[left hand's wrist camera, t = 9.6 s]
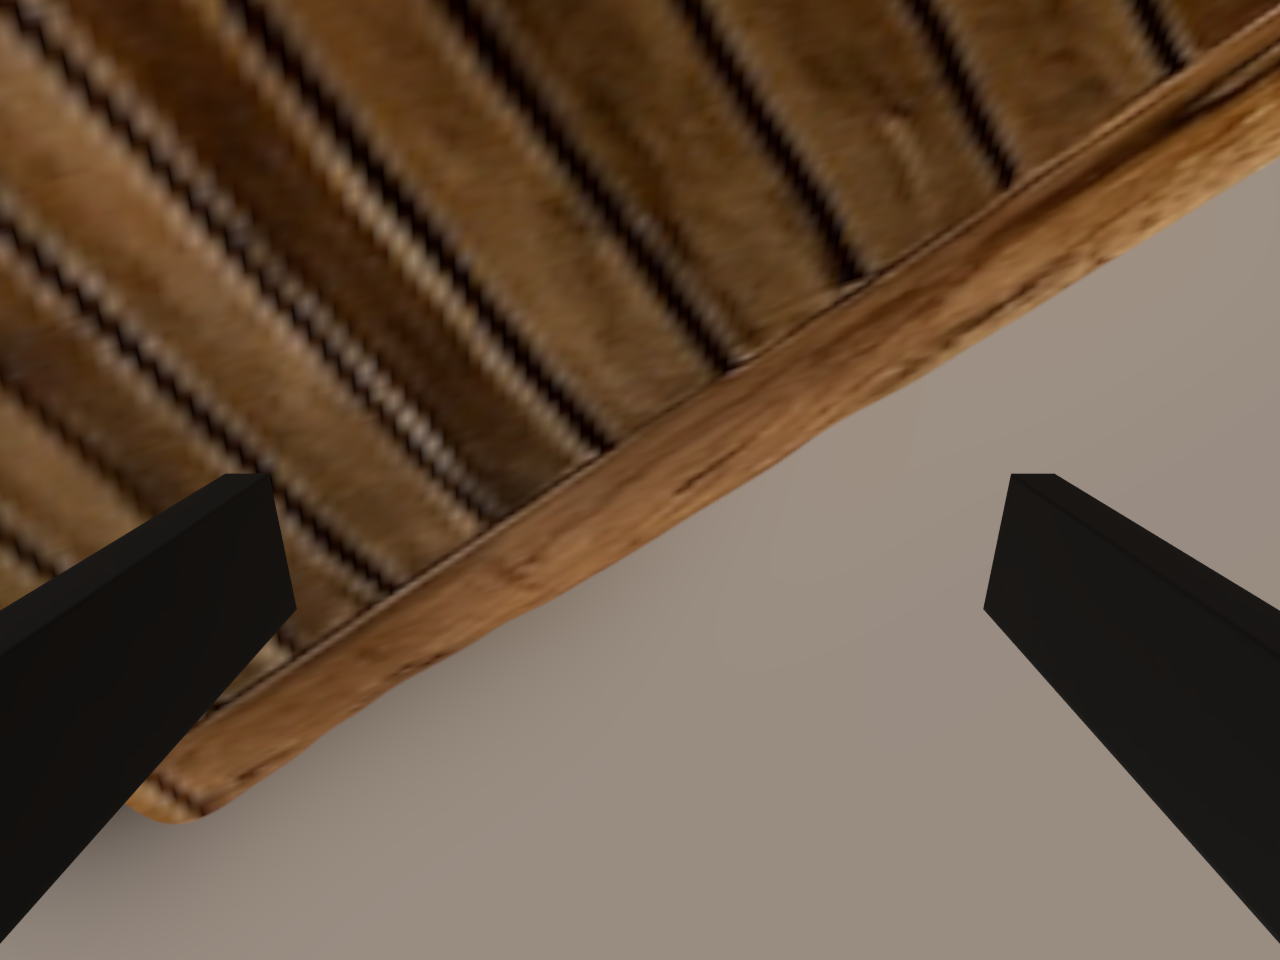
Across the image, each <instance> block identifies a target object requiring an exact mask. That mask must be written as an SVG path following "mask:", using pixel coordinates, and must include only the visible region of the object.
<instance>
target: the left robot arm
mask: <svg viewBox="0 0 1280 960" xmlns="http://www.w3.org/2000/svg"><path fill="white" fill-rule="evenodd" d="M296 609H297V608H296V603H295V598H294V594H293V589H292V584H291V579H290V574H289V569H288V564H287V560H286V555H285V550H284V545H283V540H282V535H281V530H280V526H279V521H278V516H277V511H276V506H275V501H274V496H273V492H272V487H271V482H270V477H269V474H224V475H223V476H221V477H219V478H218V479H216V480H214V481H213V482H211V483H209V484H208V485H206V486H204V487H203V488H201V489H200V490H198V491H196V492H195V493H193V494H191V495H190V496H188V497H186V498H185V499H183V500H181V501H180V502H178V503H177V504H175V505H173V506H172V507H170V508H168V509H167V510H165V511H163V512H162V513H160V514H158V515H157V516H155V517H153V518H152V519H150V520H149V521H147V522H145V523H144V524H142V525H140V526H139V527H137V528H135V529H134V530H132V531H130V532H129V533H127V534H126V535H124V536H122V537H121V538H119V539H117V540H116V541H114V542H112V543H111V544H109V545H107V546H106V547H104V548H103V549H101V550H99V551H98V552H96V553H94V554H93V555H91V556H89V557H88V558H86V559H84V560H83V561H81V562H79V563H78V564H76V565H75V566H73V567H71V568H70V569H68V570H66V571H65V572H63V573H61V574H60V575H58V576H56V577H55V578H53V579H52V580H50V581H48V582H47V583H45V584H43V585H42V586H40V587H38V588H37V589H35V590H33V591H32V592H30V593H28V594H27V595H25V596H24V597H22V598H20V599H19V600H17V601H15V602H14V603H12V604H10V605H9V606H7V607H5V608H4V609H2V610H1V611H0V943H1V942H2V941H3V940H4V939H5V938H6V936H7V935H8V934H9V933H10V932H11V931H12V930H13V929H14V927H15V926H16V925H17V924H18V923H19V922H20V921H21V920H22V918H23V917H24V916H25V915H26V914H27V913H28V912H29V910H30V909H31V908H32V907H33V906H34V905H35V904H36V903H37V901H38V900H39V899H40V898H41V897H42V896H43V895H44V894H45V892H46V891H47V890H48V889H49V888H50V887H51V886H52V885H53V883H54V882H55V881H56V880H57V879H58V878H59V877H60V875H61V874H62V873H63V872H64V871H65V870H66V869H67V868H68V866H69V865H70V864H71V863H72V862H73V861H74V860H75V859H76V857H77V856H78V855H79V854H80V853H81V852H82V851H83V849H84V848H85V847H86V846H87V845H88V844H89V843H90V842H91V841H92V839H93V838H94V837H95V836H96V835H97V834H98V833H99V832H100V830H101V829H102V828H103V827H104V826H105V825H106V824H107V822H108V821H109V820H110V819H111V818H112V817H113V816H114V815H115V813H116V812H117V811H118V810H119V809H120V808H121V807H122V806H123V804H124V803H125V802H126V801H127V800H128V799H129V798H130V797H131V795H132V794H133V793H134V792H135V791H136V790H137V789H138V788H139V786H140V785H141V784H142V783H143V782H144V781H145V780H146V779H147V777H148V776H149V775H150V774H151V773H152V772H153V771H154V769H155V768H156V767H157V766H158V765H159V764H160V763H161V762H162V760H163V759H164V758H165V757H166V756H167V755H168V754H169V753H170V751H171V750H172V749H173V748H174V747H175V746H176V745H177V744H178V742H179V741H180V740H181V739H182V738H183V737H184V736H185V735H186V733H187V732H188V731H189V730H190V729H191V728H192V727H193V725H194V724H195V723H196V722H197V721H198V720H199V719H200V718H201V716H202V715H203V714H204V713H205V712H206V711H207V710H208V709H209V707H210V706H211V705H212V704H213V703H214V702H215V701H216V700H217V698H218V697H219V696H220V695H221V694H222V693H223V692H224V691H225V689H226V688H227V687H228V686H229V685H230V684H231V683H232V681H233V680H234V679H235V678H236V677H237V676H238V675H239V674H240V672H241V671H242V670H243V669H244V668H245V667H246V666H247V665H248V663H249V662H250V661H251V660H252V659H253V658H254V657H255V656H256V654H257V653H258V652H259V651H260V650H261V649H262V648H263V646H264V645H265V644H266V643H267V642H268V641H269V640H270V639H271V637H272V636H273V635H274V634H275V633H276V632H277V631H278V630H279V628H280V627H281V626H282V625H283V624H284V623H285V622H286V621H287V619H288V618H289V617H290V616H291V615H292V614H293V613H294V612H295V610H296ZM983 609H984V610H985V612H986V613H987V614H988V615H989V616H990V617H991V618H992V619H993V621H994V622H995V623H996V624H997V625H998V626H999V627H1000V628H1001V630H1002V631H1003V632H1004V633H1005V634H1006V635H1007V636H1008V637H1009V639H1010V640H1011V641H1012V642H1013V643H1014V644H1015V645H1016V646H1017V648H1018V649H1019V650H1020V651H1021V652H1022V653H1023V654H1024V656H1025V657H1026V658H1027V659H1028V660H1029V661H1030V662H1031V663H1032V664H1033V666H1034V667H1035V668H1036V669H1037V670H1038V671H1039V672H1040V674H1041V675H1042V676H1043V677H1044V678H1045V679H1046V680H1047V681H1048V683H1049V684H1050V685H1051V686H1052V687H1053V688H1054V689H1055V691H1056V692H1057V693H1058V694H1059V695H1060V696H1061V697H1062V698H1063V700H1064V701H1065V702H1066V703H1067V704H1068V705H1069V706H1070V707H1071V709H1072V710H1073V711H1074V712H1075V713H1076V714H1077V715H1078V716H1079V718H1080V719H1081V720H1082V721H1083V722H1084V723H1085V724H1086V725H1087V727H1088V728H1089V729H1090V730H1091V731H1092V732H1093V733H1094V734H1095V736H1096V737H1097V738H1098V739H1099V740H1100V741H1101V742H1102V744H1103V745H1104V746H1105V747H1106V748H1107V749H1108V750H1109V751H1110V753H1111V754H1112V755H1113V756H1114V757H1115V758H1116V759H1117V760H1118V762H1119V763H1120V764H1121V765H1122V766H1123V767H1124V768H1125V769H1126V771H1127V772H1128V773H1129V774H1130V775H1131V776H1132V777H1133V779H1134V780H1135V781H1136V782H1137V783H1138V784H1139V785H1140V786H1141V788H1142V789H1143V790H1144V791H1145V792H1146V793H1147V794H1148V795H1149V797H1150V798H1151V799H1152V800H1153V801H1154V802H1155V803H1156V804H1157V806H1158V807H1159V808H1160V809H1161V810H1162V811H1163V812H1164V813H1165V815H1166V816H1167V817H1168V818H1169V819H1170V820H1171V821H1172V822H1173V824H1174V825H1175V826H1176V827H1177V828H1178V829H1179V830H1180V832H1181V833H1182V834H1183V835H1184V836H1185V837H1186V838H1187V839H1188V841H1189V842H1190V843H1191V844H1192V845H1193V846H1194V847H1195V848H1196V850H1197V851H1198V852H1199V853H1200V854H1201V855H1202V856H1203V857H1204V859H1205V860H1206V861H1207V862H1208V863H1209V864H1210V865H1211V866H1212V868H1213V869H1214V870H1215V871H1216V872H1217V873H1218V874H1219V876H1220V877H1221V878H1222V879H1223V880H1224V881H1225V882H1226V883H1227V885H1228V886H1229V887H1230V888H1231V889H1232V890H1233V891H1234V892H1235V894H1236V895H1237V896H1238V897H1239V898H1240V899H1241V900H1242V901H1243V903H1244V904H1245V905H1246V906H1247V907H1248V908H1249V909H1250V910H1251V912H1252V913H1253V914H1254V915H1255V916H1256V917H1257V918H1258V920H1259V921H1260V922H1261V923H1262V924H1263V925H1264V926H1265V927H1266V929H1267V930H1268V931H1269V932H1270V933H1271V934H1272V935H1273V936H1274V938H1275V939H1276V940H1277V941H1278V942H1279V943H1280V611H1279V610H1278V609H1276V608H1275V607H1273V606H1271V605H1270V604H1268V603H1266V602H1265V601H1263V600H1261V599H1260V598H1258V597H1256V596H1255V595H1253V594H1251V593H1250V592H1248V591H1247V590H1245V589H1243V588H1242V587H1240V586H1238V585H1237V584H1235V583H1233V582H1232V581H1230V580H1228V579H1227V578H1225V577H1224V576H1222V575H1220V574H1219V573H1217V572H1215V571H1214V570H1212V569H1210V568H1209V567H1207V566H1205V565H1204V564H1202V563H1200V562H1199V561H1197V560H1196V559H1194V558H1192V557H1191V556H1189V555H1187V554H1186V553H1184V552H1182V551H1181V550H1179V549H1177V548H1176V547H1174V546H1173V545H1171V544H1169V543H1168V542H1166V541H1164V540H1163V539H1161V538H1159V537H1158V536H1156V535H1154V534H1153V533H1151V532H1150V531H1148V530H1146V529H1145V528H1143V527H1141V526H1140V525H1138V524H1136V523H1135V522H1133V521H1131V520H1130V519H1128V518H1126V517H1125V516H1123V515H1121V514H1120V513H1118V512H1117V511H1115V510H1113V509H1112V508H1110V507H1108V506H1107V505H1105V504H1103V503H1102V502H1100V501H1098V500H1097V499H1095V498H1094V497H1092V496H1090V495H1089V494H1087V493H1085V492H1084V491H1082V490H1080V489H1079V488H1077V487H1075V486H1074V485H1072V484H1071V483H1069V482H1067V481H1066V480H1064V479H1062V478H1061V477H1059V476H1057V475H1056V474H1011V477H1010V482H1009V487H1008V492H1007V496H1006V501H1005V506H1004V511H1003V516H1002V521H1001V526H1000V531H999V535H998V540H997V545H996V550H995V555H994V560H993V565H992V569H991V574H990V579H989V584H988V589H987V594H986V599H985V603H984V608H983Z"/></svg>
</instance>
